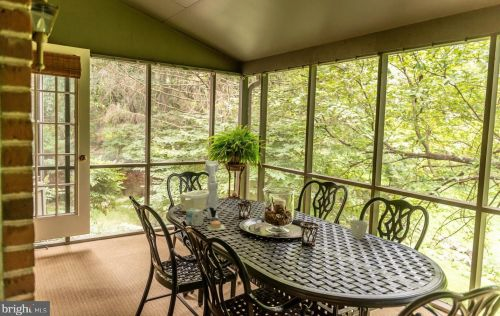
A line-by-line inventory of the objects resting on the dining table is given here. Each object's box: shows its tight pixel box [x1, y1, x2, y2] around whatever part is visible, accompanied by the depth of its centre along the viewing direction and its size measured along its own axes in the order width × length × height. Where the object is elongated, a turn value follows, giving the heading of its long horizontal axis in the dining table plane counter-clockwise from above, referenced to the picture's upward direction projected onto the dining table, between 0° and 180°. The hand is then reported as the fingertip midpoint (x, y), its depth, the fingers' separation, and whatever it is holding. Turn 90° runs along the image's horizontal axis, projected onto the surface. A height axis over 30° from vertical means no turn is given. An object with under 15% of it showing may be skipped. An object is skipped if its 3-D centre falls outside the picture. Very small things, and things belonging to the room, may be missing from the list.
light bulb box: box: [185, 208, 204, 227], centre depth 255 cm, size 11×7×11 cm, turn 68°
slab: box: [209, 220, 222, 228], centre depth 249 cm, size 3×6×7 cm
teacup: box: [348, 219, 369, 240], centre depth 225 cm, size 12×15×10 cm
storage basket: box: [180, 189, 209, 212], centre depth 298 cm, size 24×16×15 cm
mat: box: [205, 224, 227, 232], centre depth 247 cm, size 10×12×1 cm
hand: (213, 217), depth 256 cm, fingers closed
